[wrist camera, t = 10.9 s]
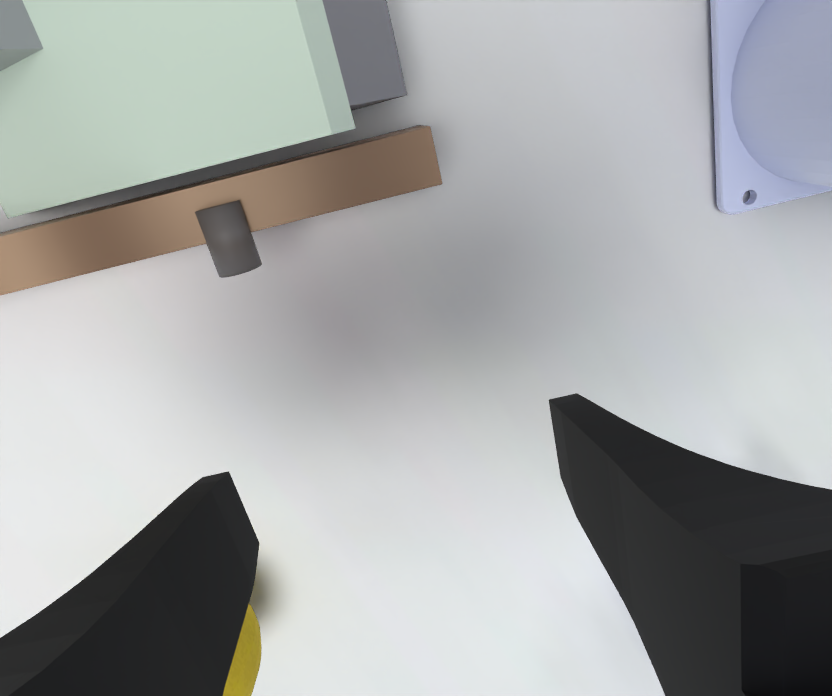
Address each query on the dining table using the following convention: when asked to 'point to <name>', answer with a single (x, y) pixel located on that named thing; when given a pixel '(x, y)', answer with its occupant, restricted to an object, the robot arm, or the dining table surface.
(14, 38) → the grey block
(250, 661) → the lemon
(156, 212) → the frame
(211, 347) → the dining table surface
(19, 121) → the trapdoor
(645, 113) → the dining table surface
